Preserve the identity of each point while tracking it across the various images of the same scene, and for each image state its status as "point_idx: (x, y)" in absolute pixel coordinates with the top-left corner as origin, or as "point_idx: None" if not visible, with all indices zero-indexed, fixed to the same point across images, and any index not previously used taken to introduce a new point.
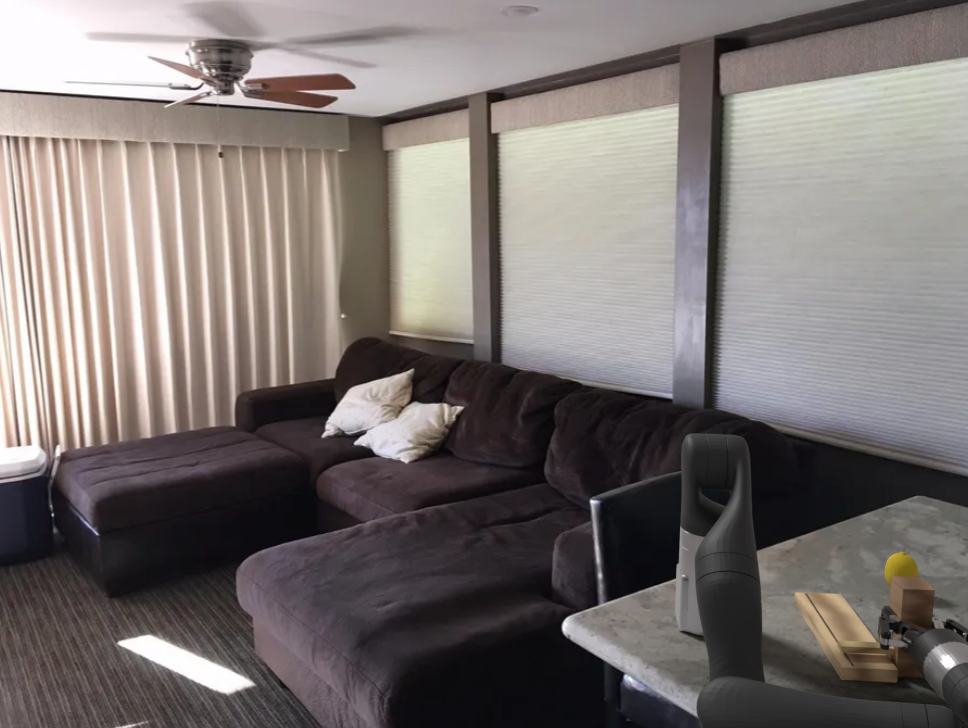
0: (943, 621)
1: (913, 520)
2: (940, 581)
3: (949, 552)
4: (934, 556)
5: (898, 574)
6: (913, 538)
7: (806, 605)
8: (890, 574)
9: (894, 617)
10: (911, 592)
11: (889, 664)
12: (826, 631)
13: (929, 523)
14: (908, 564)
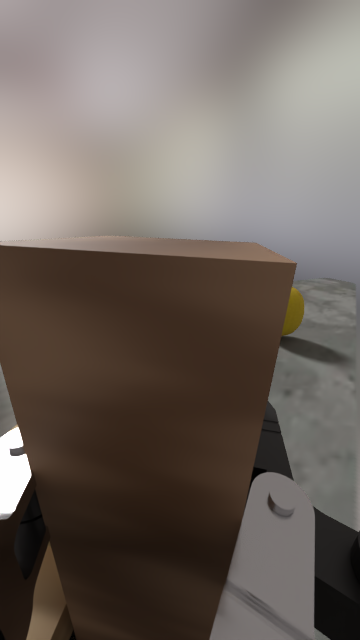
0: (331, 520)
1: (317, 286)
2: (332, 329)
3: (345, 306)
4: (330, 308)
5: None
6: (313, 295)
7: None
8: None
9: (9, 451)
10: (51, 285)
11: (35, 624)
12: None
13: (330, 288)
14: (290, 298)
